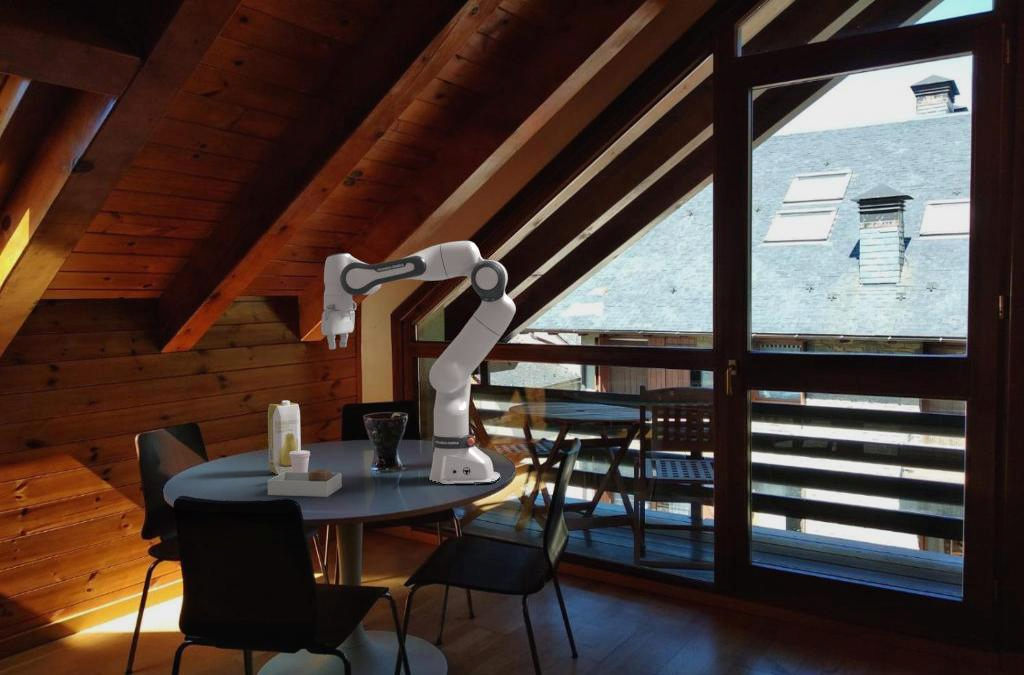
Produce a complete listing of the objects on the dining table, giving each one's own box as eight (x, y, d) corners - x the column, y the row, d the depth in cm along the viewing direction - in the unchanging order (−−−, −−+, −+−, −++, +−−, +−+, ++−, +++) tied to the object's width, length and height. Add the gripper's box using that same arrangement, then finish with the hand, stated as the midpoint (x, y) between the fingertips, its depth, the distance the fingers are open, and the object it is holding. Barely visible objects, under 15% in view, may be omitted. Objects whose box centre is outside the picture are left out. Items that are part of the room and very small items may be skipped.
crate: (341, 489, 247) (341, 473, 247) (327, 499, 235) (327, 482, 235) (284, 487, 250) (284, 471, 249) (267, 497, 238) (267, 480, 237)
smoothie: (288, 481, 258) (287, 437, 257) (309, 479, 260) (308, 436, 260) (290, 485, 252) (289, 440, 251) (312, 484, 254) (311, 439, 254)
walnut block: (331, 489, 244) (330, 469, 244) (325, 493, 239) (324, 473, 239) (315, 488, 245) (314, 469, 244) (308, 492, 240) (308, 472, 239)
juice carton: (276, 476, 266) (275, 402, 264) (266, 472, 272) (265, 400, 270) (303, 472, 271) (302, 400, 270) (293, 468, 278) (291, 398, 276)
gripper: (335, 305, 249) (335, 350, 249) (358, 304, 269) (357, 346, 270) (316, 304, 249) (315, 350, 250) (339, 304, 270) (339, 345, 270)
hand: (337, 348), depth 260 cm, fingers open, 8 cm apart
